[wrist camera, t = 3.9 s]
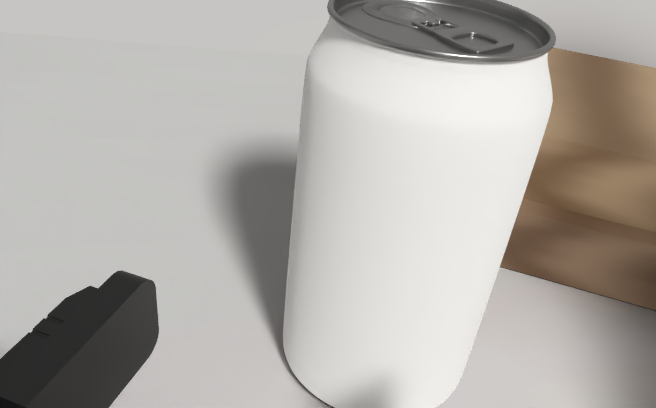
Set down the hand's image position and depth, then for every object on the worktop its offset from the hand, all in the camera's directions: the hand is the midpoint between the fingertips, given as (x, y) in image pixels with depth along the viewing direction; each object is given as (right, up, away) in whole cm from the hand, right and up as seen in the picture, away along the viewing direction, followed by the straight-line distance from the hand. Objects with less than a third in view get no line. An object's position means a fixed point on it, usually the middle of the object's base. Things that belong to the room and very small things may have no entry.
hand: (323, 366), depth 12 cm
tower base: (+12, +4, +19) cm, 23 cm away
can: (+2, -2, +9) cm, 10 cm away
